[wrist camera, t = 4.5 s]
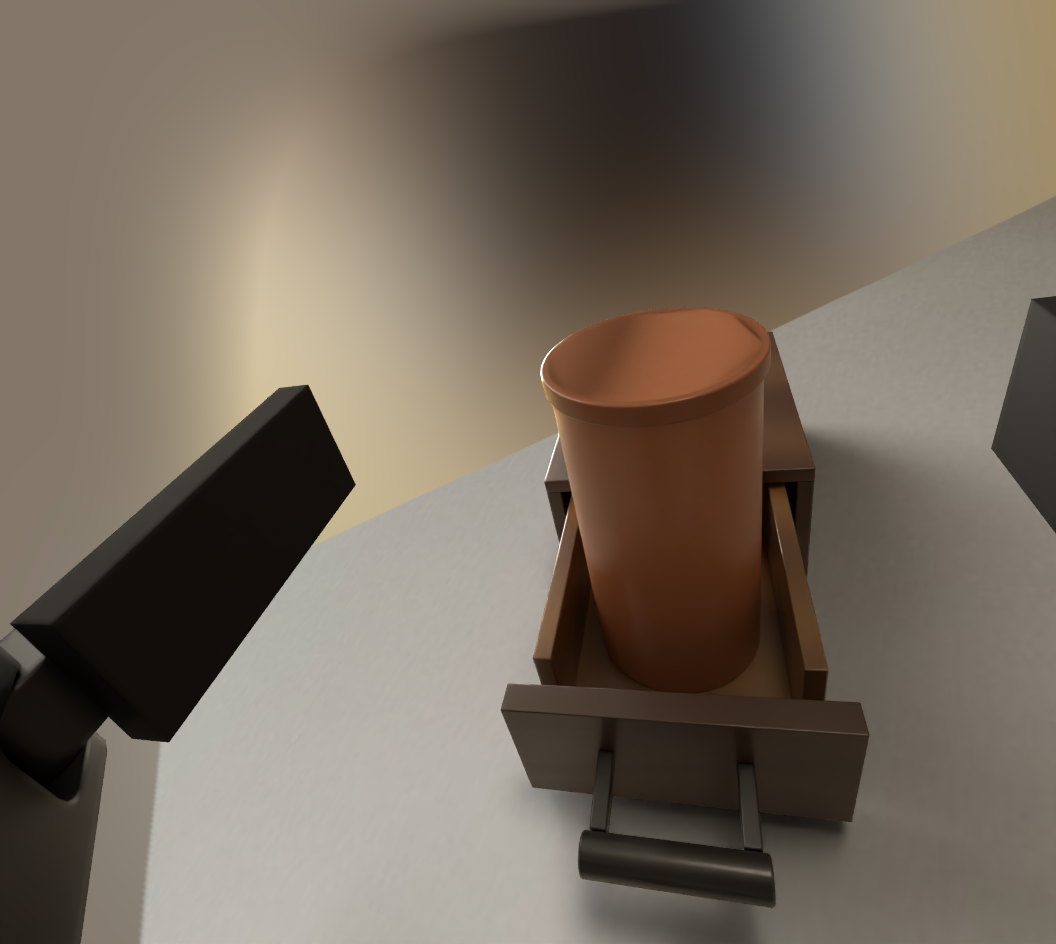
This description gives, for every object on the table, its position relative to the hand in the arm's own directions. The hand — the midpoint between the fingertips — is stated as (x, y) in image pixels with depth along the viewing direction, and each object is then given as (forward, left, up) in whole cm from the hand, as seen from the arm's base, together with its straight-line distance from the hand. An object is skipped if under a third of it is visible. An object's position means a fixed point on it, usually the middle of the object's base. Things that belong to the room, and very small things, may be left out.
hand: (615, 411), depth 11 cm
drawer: (-3, +7, -19) cm, 21 cm away
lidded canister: (-4, +9, -18) cm, 21 cm away
